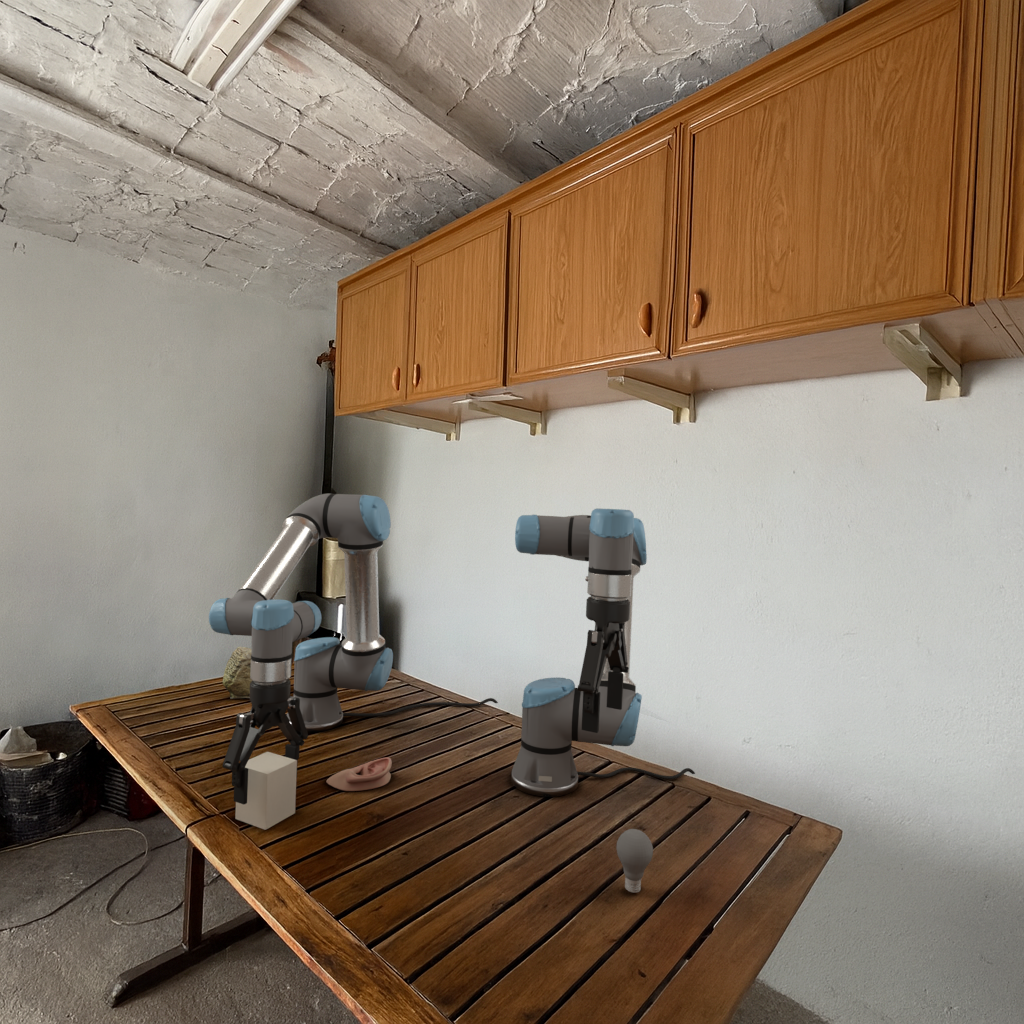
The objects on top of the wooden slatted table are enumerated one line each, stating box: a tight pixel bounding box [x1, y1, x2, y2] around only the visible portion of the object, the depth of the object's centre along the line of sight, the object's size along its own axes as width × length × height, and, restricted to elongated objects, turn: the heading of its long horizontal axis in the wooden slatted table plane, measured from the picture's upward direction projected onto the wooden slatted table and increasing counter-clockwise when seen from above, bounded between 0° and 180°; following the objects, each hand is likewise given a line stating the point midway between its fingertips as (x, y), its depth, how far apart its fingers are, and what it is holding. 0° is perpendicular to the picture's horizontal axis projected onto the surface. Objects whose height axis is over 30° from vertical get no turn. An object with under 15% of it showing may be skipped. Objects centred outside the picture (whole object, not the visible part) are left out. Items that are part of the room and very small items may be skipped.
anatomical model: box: [326, 756, 393, 792], centre depth 142 cm, size 13×4×12 cm
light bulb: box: [615, 828, 654, 894], centre depth 106 cm, size 6×6×10 cm
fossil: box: [222, 646, 252, 699], centre depth 198 cm, size 9×18×15 cm, turn 132°
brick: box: [234, 751, 298, 831], centre depth 125 cm, size 8×8×11 cm
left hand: (266, 789), depth 125 cm, fingers open, 12 cm apart
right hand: (602, 719), depth 110 cm, fingers open, 13 cm apart
